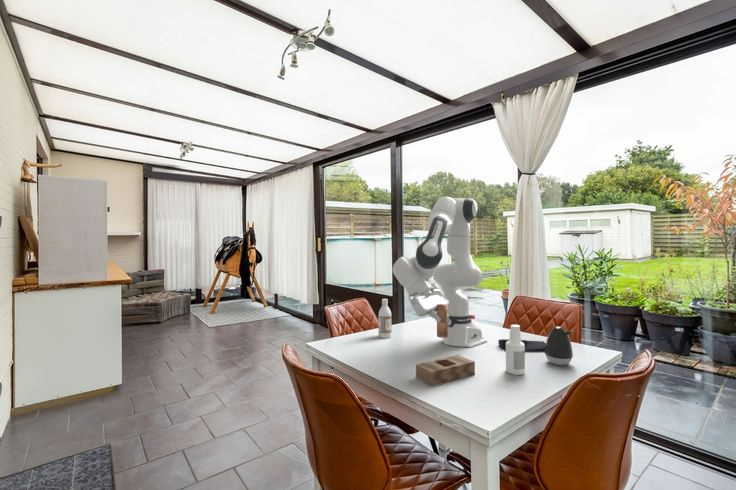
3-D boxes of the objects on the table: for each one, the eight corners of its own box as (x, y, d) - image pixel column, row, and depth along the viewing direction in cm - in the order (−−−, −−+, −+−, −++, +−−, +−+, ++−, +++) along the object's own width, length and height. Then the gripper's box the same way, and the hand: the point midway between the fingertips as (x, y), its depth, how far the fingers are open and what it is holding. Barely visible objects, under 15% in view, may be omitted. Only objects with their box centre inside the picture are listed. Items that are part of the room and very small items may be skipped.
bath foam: (383, 339, 182) (383, 300, 182) (376, 336, 188) (375, 299, 188) (394, 337, 186) (393, 299, 186) (386, 334, 192) (386, 297, 192)
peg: (442, 334, 136) (442, 303, 135) (449, 336, 132) (449, 305, 132) (434, 335, 134) (434, 304, 133) (441, 338, 130) (441, 306, 130)
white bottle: (523, 376, 131) (523, 328, 131) (504, 373, 135) (504, 326, 135) (526, 370, 137) (525, 324, 137) (507, 367, 141) (507, 322, 140)
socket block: (458, 367, 141) (457, 354, 141) (474, 374, 134) (474, 361, 133) (416, 377, 131) (415, 364, 131) (431, 386, 123) (431, 372, 123)
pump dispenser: (564, 369, 137) (564, 331, 137) (539, 362, 146) (539, 325, 146) (578, 364, 143) (578, 327, 143) (553, 357, 152) (553, 322, 151)
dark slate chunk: (554, 354, 157) (554, 344, 157) (503, 352, 160) (503, 342, 160) (542, 344, 172) (542, 334, 172) (495, 342, 175) (495, 333, 175)
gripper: (411, 289, 129) (435, 319, 123) (438, 283, 145) (460, 310, 139) (401, 300, 132) (424, 330, 126) (428, 293, 148) (450, 319, 142)
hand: (443, 319), depth 132 cm, fingers closed on peg, 4 cm apart
